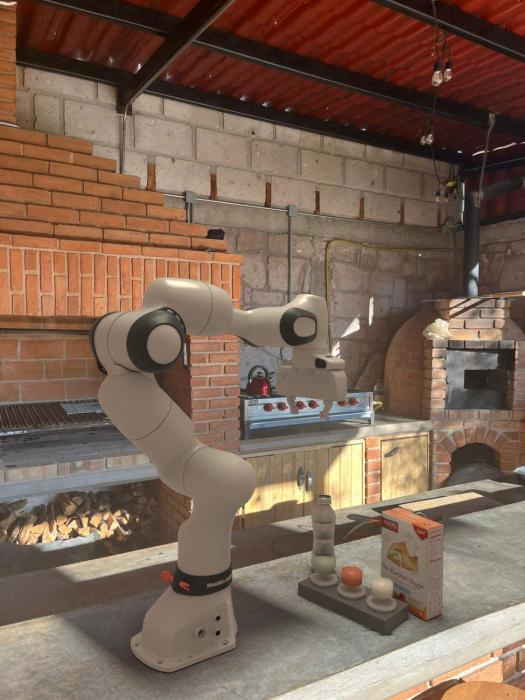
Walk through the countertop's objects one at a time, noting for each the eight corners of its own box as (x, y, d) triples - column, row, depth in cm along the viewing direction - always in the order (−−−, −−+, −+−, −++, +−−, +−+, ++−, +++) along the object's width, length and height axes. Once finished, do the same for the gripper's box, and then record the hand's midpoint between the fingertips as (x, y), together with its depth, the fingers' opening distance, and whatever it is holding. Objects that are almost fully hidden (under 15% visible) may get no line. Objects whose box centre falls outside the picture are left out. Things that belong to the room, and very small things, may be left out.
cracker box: (378, 596, 129) (380, 510, 128) (396, 589, 132) (398, 506, 132) (424, 622, 117) (426, 528, 117) (443, 615, 120) (445, 523, 120)
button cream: (385, 601, 115) (385, 589, 115) (366, 593, 118) (366, 582, 118) (396, 593, 118) (397, 582, 118) (378, 586, 122) (378, 575, 122)
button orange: (354, 588, 120) (354, 577, 120) (337, 581, 124) (337, 570, 124) (366, 581, 124) (366, 570, 124) (349, 575, 127) (349, 564, 127)
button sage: (326, 577, 126) (326, 566, 126) (310, 570, 129) (310, 560, 129) (338, 570, 130) (338, 560, 129) (322, 564, 133) (322, 554, 133)
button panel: (384, 635, 112) (385, 616, 112) (297, 595, 129) (298, 578, 129) (408, 617, 119) (409, 599, 119) (323, 581, 136) (323, 566, 136)
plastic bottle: (337, 576, 139) (338, 500, 138) (311, 575, 139) (312, 499, 139) (334, 565, 146) (335, 492, 145) (309, 565, 146) (310, 492, 145)
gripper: (270, 358, 136) (269, 412, 137) (335, 362, 122) (334, 422, 123) (286, 358, 141) (285, 410, 141) (351, 361, 127) (350, 419, 127)
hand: (308, 416), depth 132 cm, fingers open, 8 cm apart
